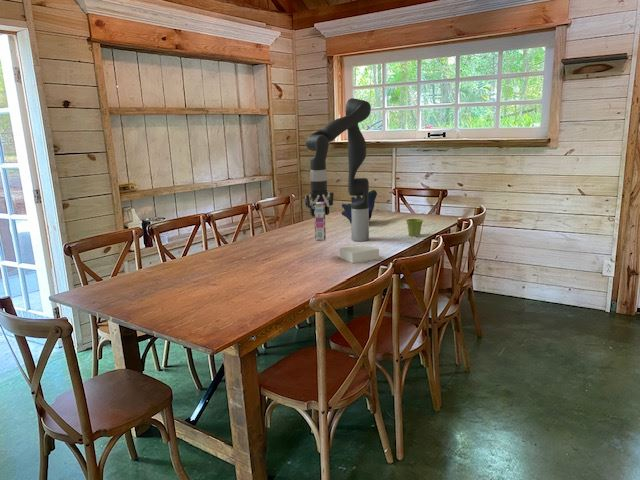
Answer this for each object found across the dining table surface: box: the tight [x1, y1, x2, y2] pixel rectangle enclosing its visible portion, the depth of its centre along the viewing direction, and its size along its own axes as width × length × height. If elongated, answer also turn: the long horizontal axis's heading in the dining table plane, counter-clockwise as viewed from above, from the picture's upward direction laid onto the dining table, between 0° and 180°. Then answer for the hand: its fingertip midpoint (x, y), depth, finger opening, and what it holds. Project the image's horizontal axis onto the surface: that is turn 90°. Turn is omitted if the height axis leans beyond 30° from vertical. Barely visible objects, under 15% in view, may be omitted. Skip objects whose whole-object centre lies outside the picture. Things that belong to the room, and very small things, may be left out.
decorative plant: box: [341, 189, 378, 224], centre depth 303 cm, size 21×26×30 cm
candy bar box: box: [314, 201, 327, 242], centre depth 219 cm, size 11×5×16 cm, turn 179°
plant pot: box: [405, 218, 424, 237], centre depth 261 cm, size 9×9×9 cm
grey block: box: [339, 243, 380, 264], centre depth 219 cm, size 12×14×5 cm
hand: (319, 215), depth 219 cm, fingers closed on candy bar box, 6 cm apart
